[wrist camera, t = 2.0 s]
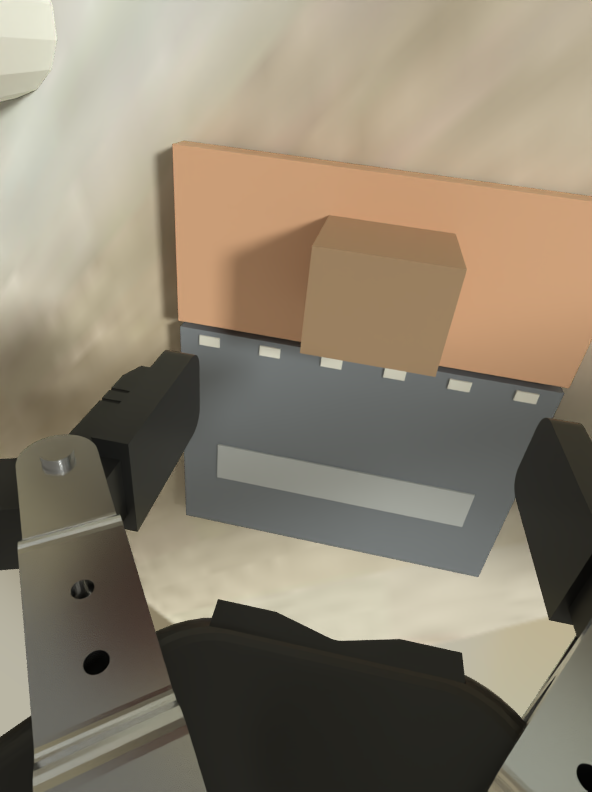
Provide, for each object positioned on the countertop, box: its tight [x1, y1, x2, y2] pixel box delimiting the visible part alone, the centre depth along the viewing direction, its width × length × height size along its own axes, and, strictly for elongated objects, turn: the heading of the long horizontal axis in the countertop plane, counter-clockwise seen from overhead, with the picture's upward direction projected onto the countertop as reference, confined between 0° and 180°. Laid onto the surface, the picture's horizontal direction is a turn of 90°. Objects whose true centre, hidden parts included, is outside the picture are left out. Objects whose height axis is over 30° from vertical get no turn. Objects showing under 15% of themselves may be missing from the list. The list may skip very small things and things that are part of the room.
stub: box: [172, 141, 592, 388], centre depth 20 cm, size 18×8×6 cm, turn 84°
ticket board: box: [180, 322, 564, 577], centre depth 27 cm, size 18×13×1 cm
